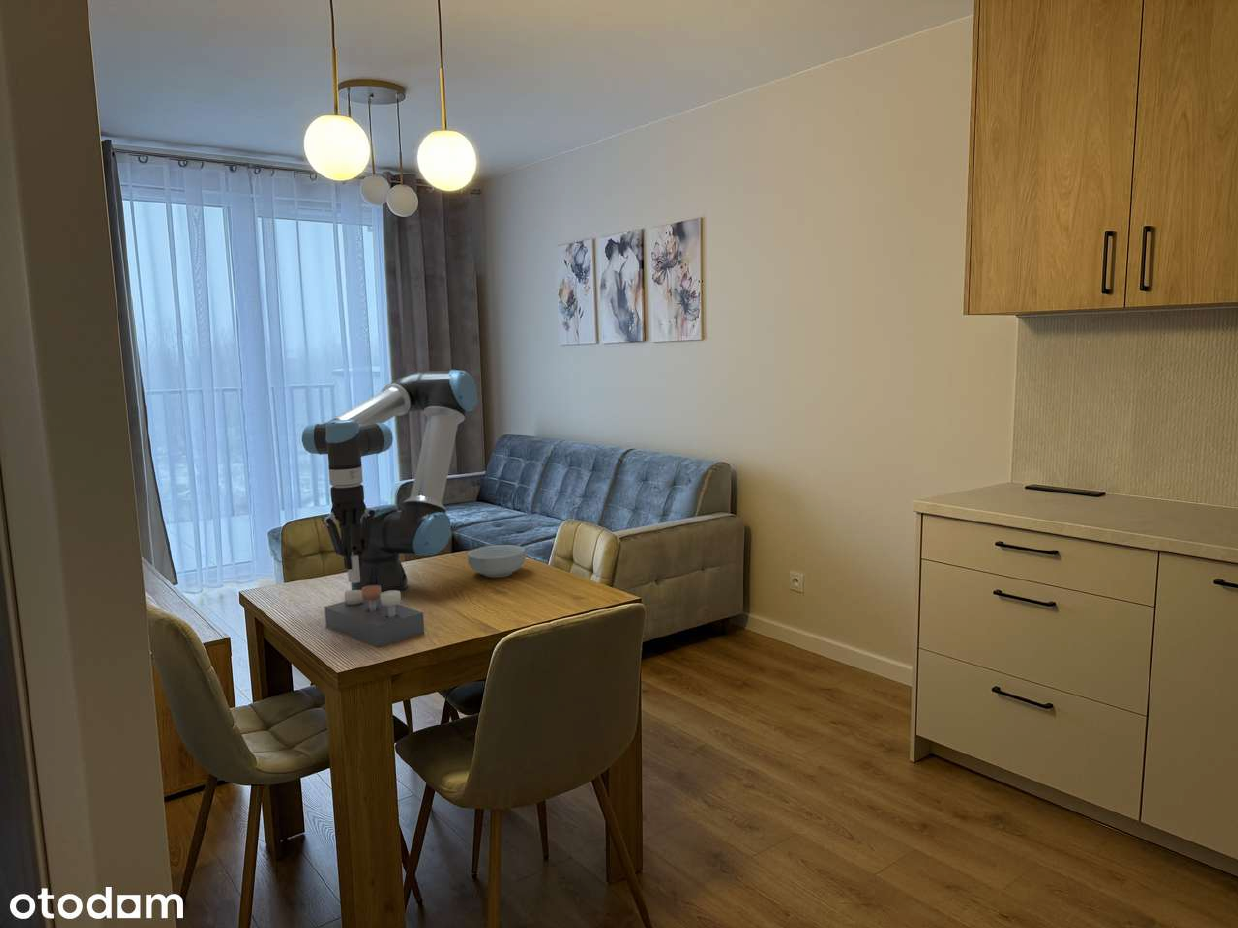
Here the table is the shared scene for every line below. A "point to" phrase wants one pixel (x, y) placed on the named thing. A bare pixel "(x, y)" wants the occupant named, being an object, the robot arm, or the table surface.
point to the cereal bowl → (497, 560)
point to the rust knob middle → (371, 595)
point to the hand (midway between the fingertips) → (354, 581)
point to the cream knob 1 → (353, 597)
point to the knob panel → (374, 622)
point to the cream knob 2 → (391, 601)
